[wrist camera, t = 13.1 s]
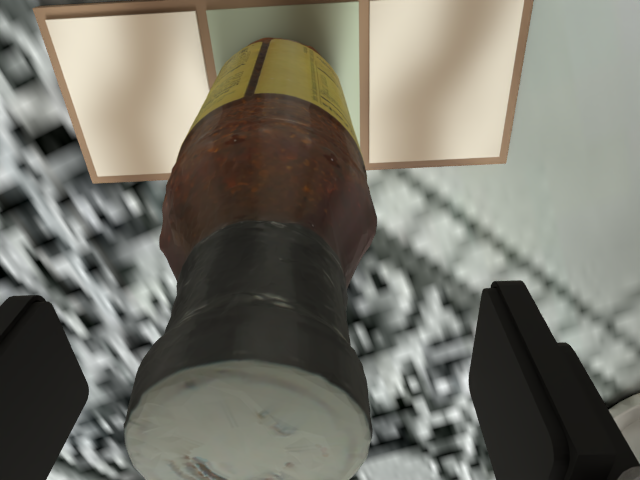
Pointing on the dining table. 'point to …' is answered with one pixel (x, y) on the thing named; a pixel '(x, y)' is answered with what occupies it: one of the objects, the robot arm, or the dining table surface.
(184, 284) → the sauce bottle
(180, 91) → the board
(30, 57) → the dining table surface
